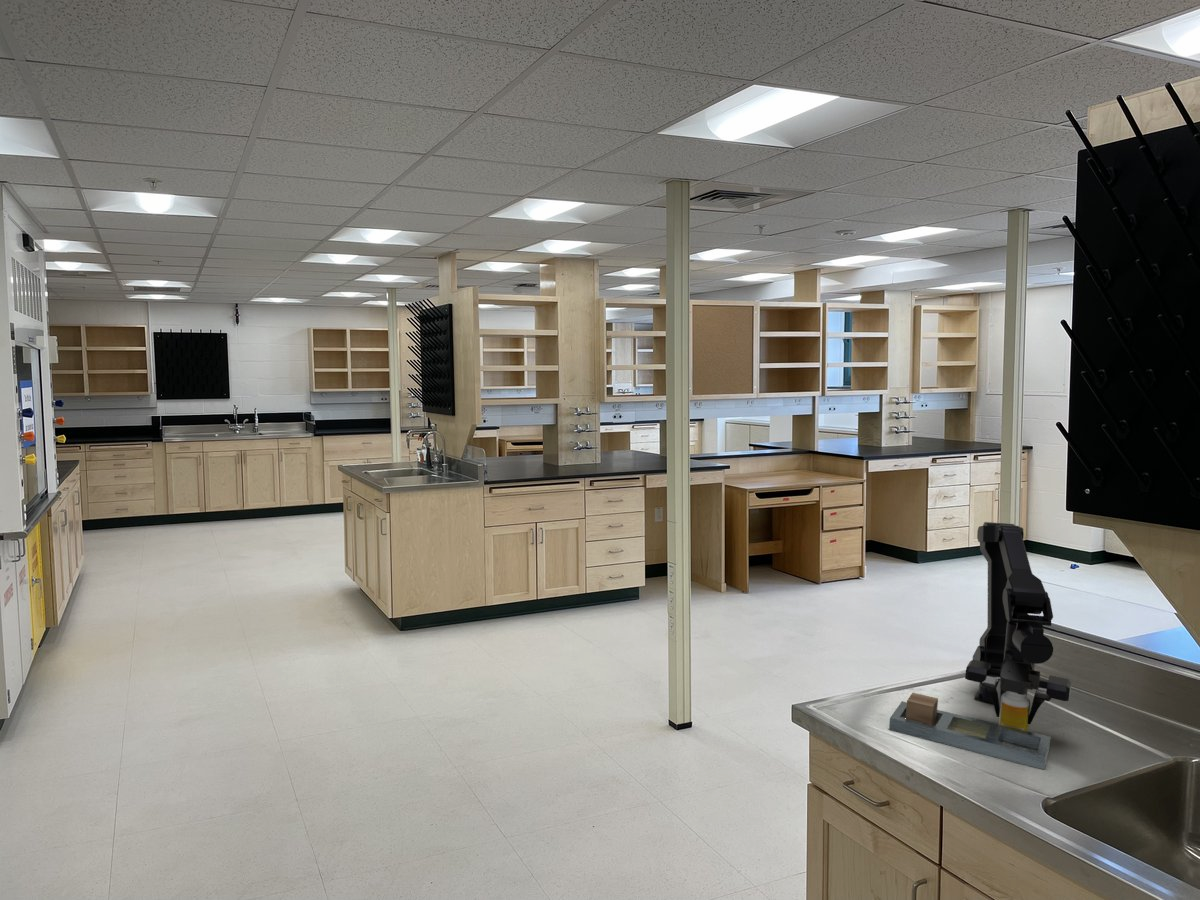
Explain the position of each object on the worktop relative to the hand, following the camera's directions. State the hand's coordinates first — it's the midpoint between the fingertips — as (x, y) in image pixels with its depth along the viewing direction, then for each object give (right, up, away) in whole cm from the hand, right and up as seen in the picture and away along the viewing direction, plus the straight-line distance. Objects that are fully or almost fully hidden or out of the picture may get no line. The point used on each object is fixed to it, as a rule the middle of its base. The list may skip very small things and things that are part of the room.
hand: (1013, 720), depth 174 cm
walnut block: (-18, -2, +1) cm, 19 cm away
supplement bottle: (0, -3, 0) cm, 3 cm away
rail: (-11, -3, -4) cm, 12 cm away
